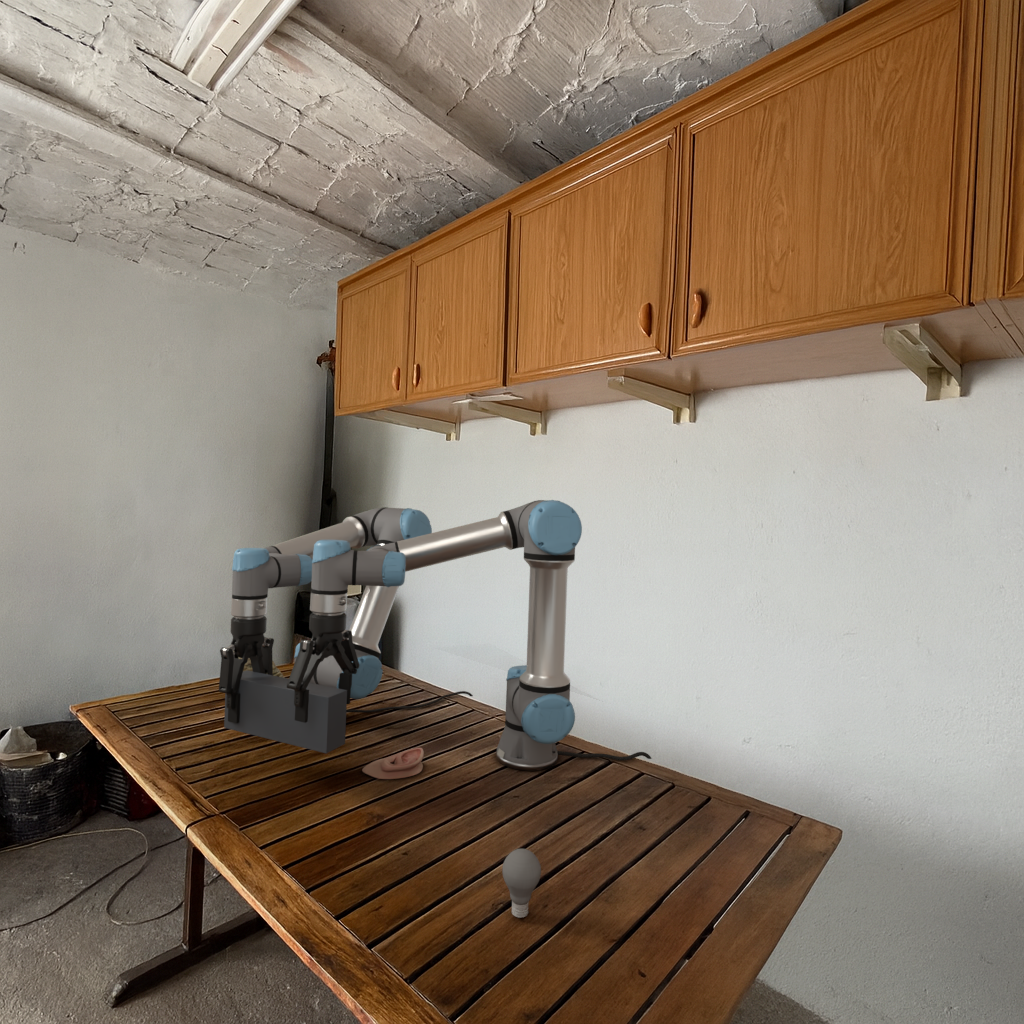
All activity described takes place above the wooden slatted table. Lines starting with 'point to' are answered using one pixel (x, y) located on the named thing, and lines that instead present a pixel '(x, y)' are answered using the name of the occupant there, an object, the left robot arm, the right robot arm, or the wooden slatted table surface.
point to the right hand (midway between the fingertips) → (323, 711)
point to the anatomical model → (397, 765)
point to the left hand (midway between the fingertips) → (245, 717)
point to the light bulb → (521, 878)
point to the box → (290, 713)
